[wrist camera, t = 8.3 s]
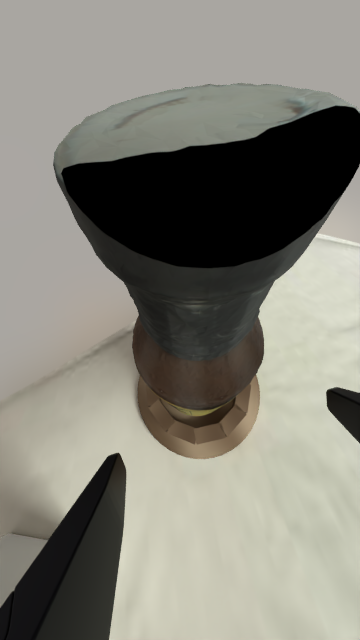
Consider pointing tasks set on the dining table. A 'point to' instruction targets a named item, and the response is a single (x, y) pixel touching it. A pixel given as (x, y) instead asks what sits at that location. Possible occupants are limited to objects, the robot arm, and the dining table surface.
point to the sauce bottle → (206, 217)
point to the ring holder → (200, 423)
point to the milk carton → (16, 560)
